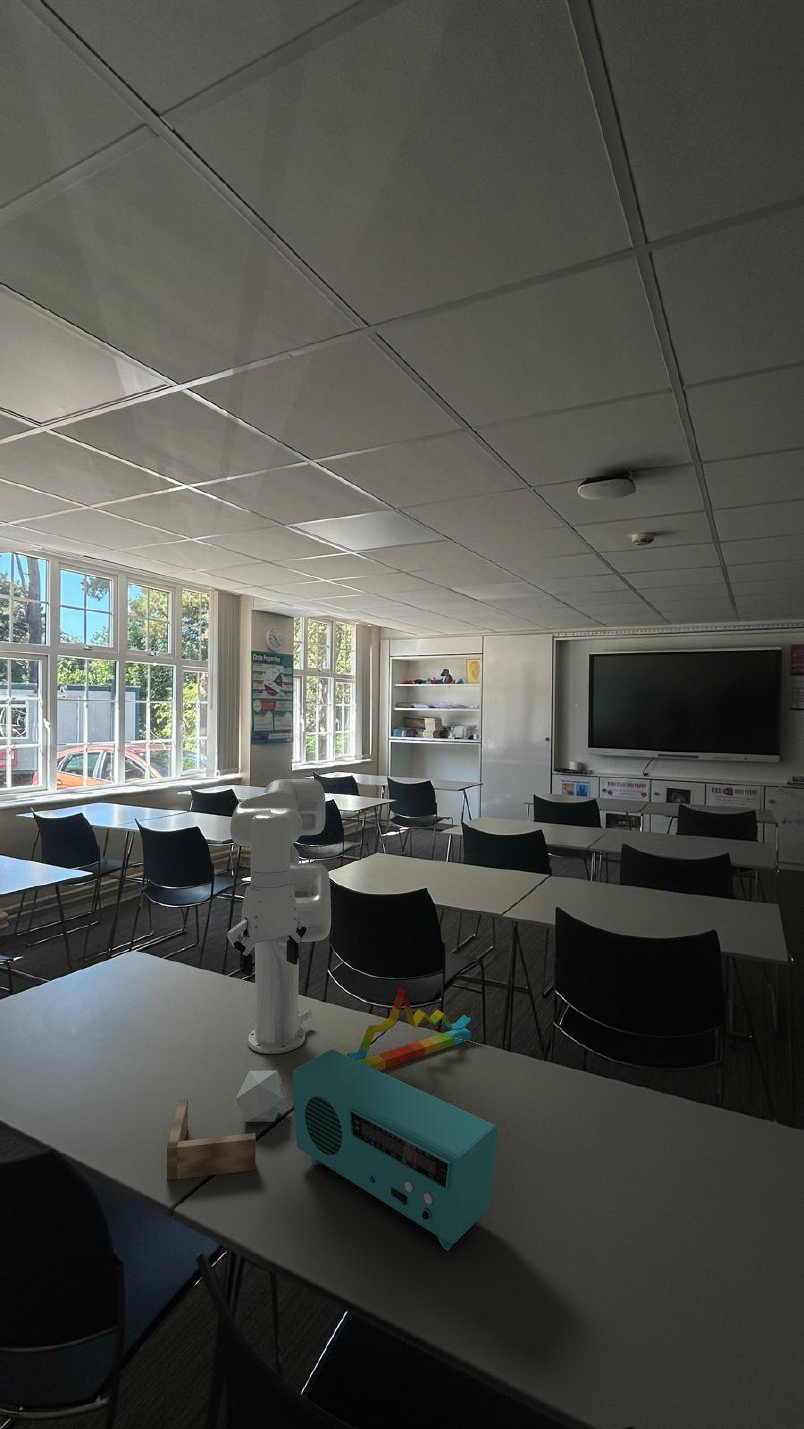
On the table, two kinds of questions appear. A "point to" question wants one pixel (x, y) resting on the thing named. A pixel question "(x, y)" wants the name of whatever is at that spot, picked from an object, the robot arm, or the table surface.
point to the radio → (396, 1143)
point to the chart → (411, 1049)
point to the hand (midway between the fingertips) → (269, 968)
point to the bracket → (206, 1151)
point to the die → (261, 1096)
